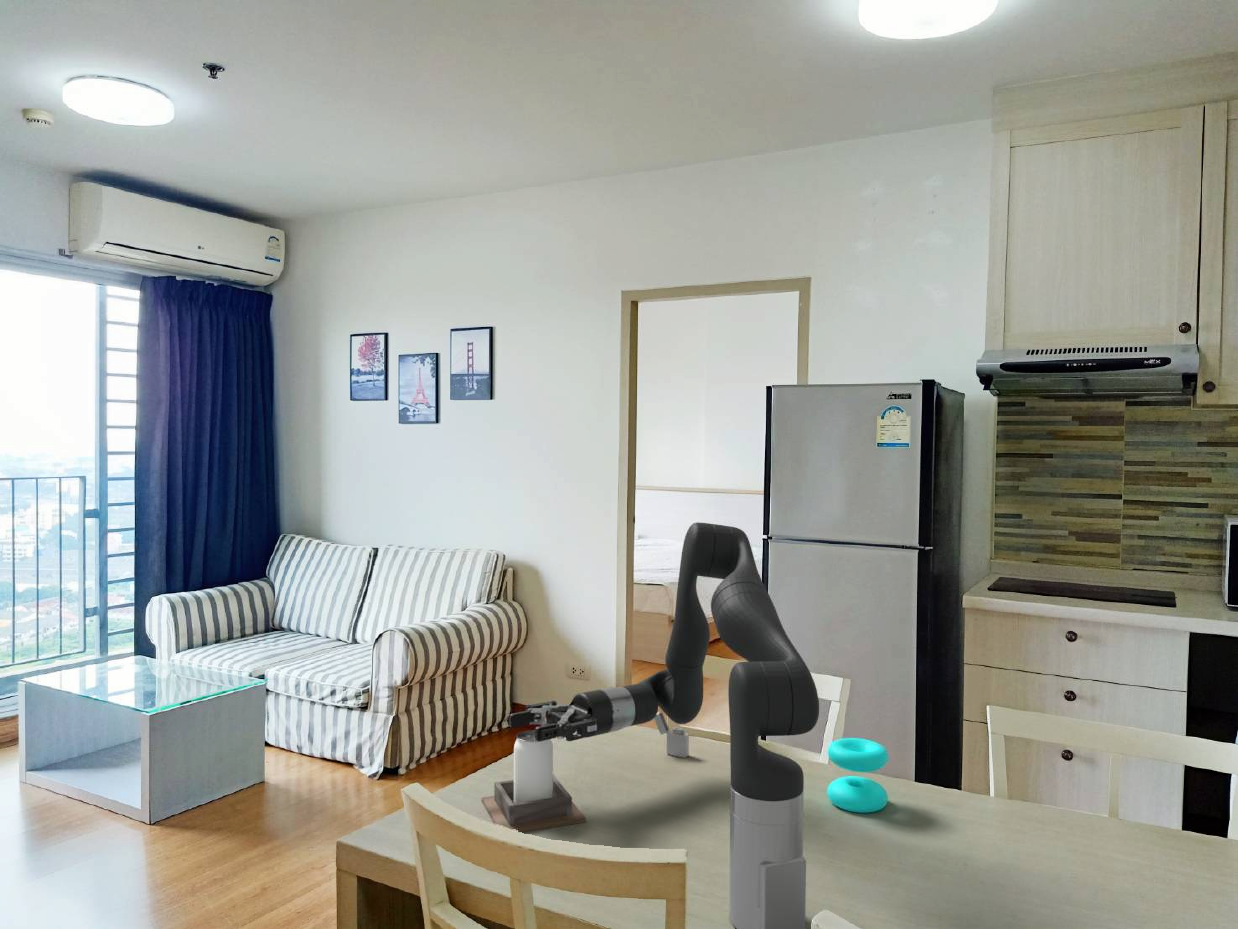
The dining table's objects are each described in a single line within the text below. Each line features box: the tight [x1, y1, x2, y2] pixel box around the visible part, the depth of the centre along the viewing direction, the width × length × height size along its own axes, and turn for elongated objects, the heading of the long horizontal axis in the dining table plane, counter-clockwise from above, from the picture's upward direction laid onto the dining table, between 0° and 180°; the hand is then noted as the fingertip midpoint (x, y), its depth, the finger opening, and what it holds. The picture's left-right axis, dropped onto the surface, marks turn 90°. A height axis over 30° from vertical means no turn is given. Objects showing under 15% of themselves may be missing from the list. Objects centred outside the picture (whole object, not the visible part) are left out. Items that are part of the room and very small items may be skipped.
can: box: [513, 729, 554, 803], centre depth 145 cm, size 6×6×12 cm
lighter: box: [653, 710, 690, 758], centre depth 173 cm, size 7×2×8 cm, turn 65°
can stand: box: [481, 774, 587, 833], centre depth 145 cm, size 14×14×4 cm
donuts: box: [826, 737, 889, 813], centre depth 149 cm, size 10×10×10 cm
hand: (522, 727), depth 144 cm, fingers open, 8 cm apart
